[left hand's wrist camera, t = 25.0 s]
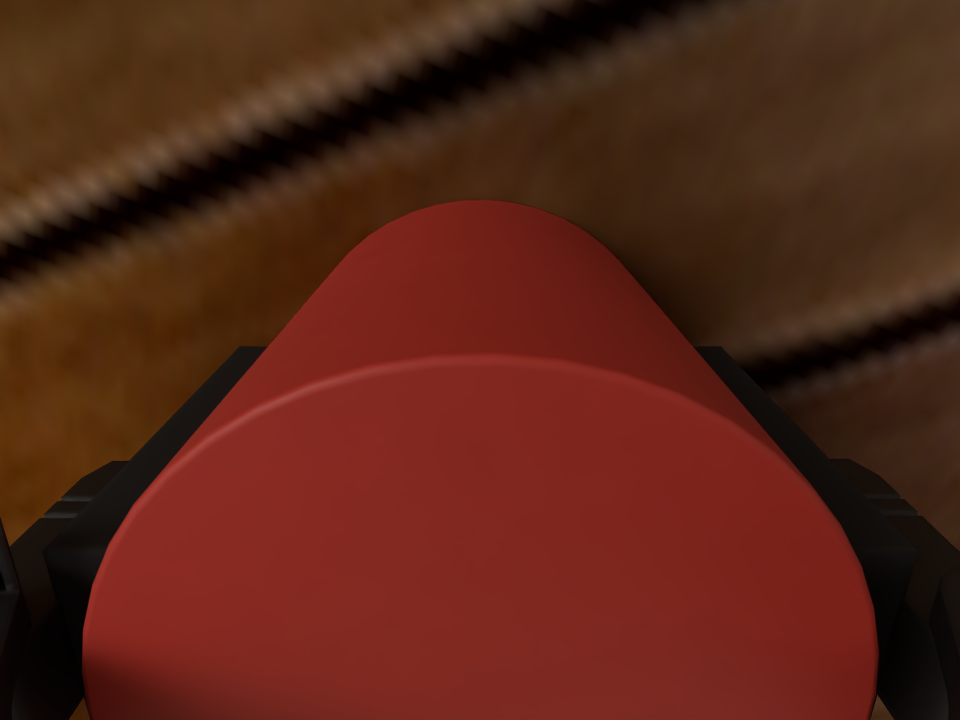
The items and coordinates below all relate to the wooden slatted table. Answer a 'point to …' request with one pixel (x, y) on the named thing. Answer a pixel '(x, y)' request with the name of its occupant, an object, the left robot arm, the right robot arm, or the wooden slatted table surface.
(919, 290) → the wooden slatted table surface
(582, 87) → the wooden slatted table surface
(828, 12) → the wooden slatted table surface
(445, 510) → the canister
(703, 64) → the wooden slatted table surface
